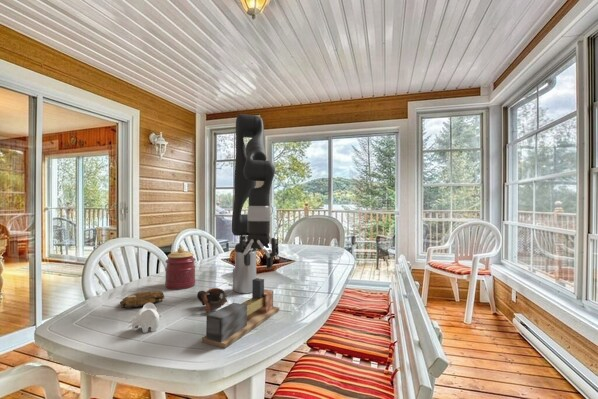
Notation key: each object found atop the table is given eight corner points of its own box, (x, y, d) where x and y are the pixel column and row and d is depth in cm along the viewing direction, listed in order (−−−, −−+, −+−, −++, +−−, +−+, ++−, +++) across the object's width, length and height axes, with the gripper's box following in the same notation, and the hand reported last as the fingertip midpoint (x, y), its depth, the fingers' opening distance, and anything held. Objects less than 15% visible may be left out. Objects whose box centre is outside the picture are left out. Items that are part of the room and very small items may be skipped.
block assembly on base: (225, 348, 79) (225, 319, 79) (202, 342, 82) (202, 314, 82) (279, 310, 106) (279, 289, 106) (260, 307, 109) (260, 286, 109)
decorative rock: (159, 296, 123) (117, 306, 112) (158, 286, 123) (117, 295, 113) (169, 302, 114) (125, 313, 104) (168, 291, 114) (124, 301, 104)
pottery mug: (231, 305, 113) (232, 289, 109) (218, 325, 105) (219, 308, 101) (202, 295, 115) (202, 279, 111) (188, 313, 107) (187, 297, 103)
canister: (159, 286, 136) (160, 247, 136) (186, 280, 146) (186, 244, 146) (173, 291, 127) (173, 250, 128) (200, 285, 137) (201, 247, 137)
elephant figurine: (129, 327, 91) (129, 304, 92) (163, 322, 95) (163, 300, 95) (126, 338, 84) (126, 312, 85) (163, 332, 88) (163, 308, 88)
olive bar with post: (239, 320, 88) (239, 290, 88) (230, 318, 90) (231, 288, 90) (269, 302, 104) (269, 276, 104) (261, 301, 106) (261, 275, 106)
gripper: (234, 219, 100) (234, 267, 100) (271, 220, 94) (270, 272, 94) (247, 217, 107) (247, 262, 107) (282, 219, 101) (282, 267, 101)
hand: (258, 267), depth 101 cm, fingers open, 8 cm apart
